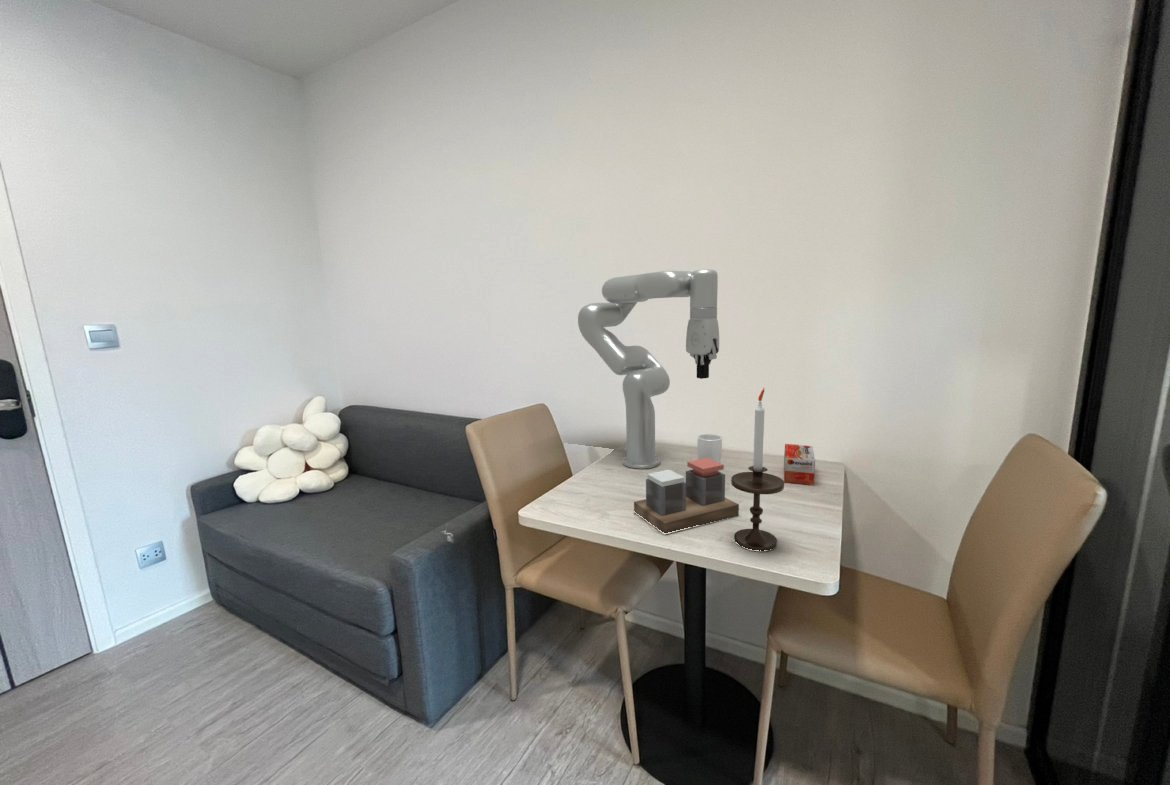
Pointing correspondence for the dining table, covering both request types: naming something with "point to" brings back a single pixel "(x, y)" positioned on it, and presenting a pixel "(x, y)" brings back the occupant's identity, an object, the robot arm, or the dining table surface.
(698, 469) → the red plunger
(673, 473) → the grey plunger
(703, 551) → the dining table surface
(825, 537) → the dining table surface
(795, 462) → the medicine box
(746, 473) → the candlestick
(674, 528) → the board
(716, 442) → the drinking glass
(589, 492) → the dining table surface
